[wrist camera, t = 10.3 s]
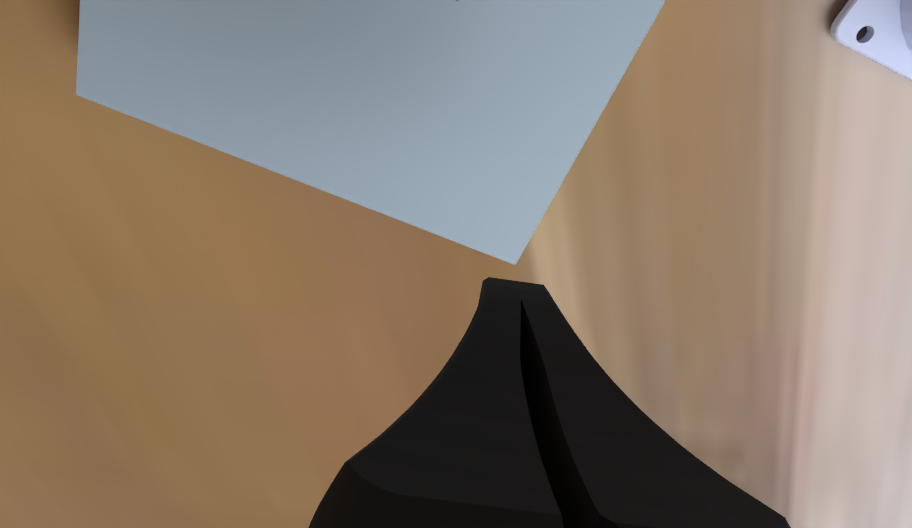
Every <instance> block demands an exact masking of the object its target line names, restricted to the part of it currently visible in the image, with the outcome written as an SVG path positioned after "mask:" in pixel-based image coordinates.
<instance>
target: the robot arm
mask: <svg viewBox="0 0 912 528" xmlns="http://www.w3.org/2000/svg"><path fill="white" fill-rule="evenodd" d="M865 26H866V27H867V32H866V34H865V36H864V37H863V38H862V39H860V40H858V41H857V40H856V35H857V33H858V31H859V30H860V29H861V28H862V27H865ZM830 33H831V37H832V38H833V39H834V40H835V41H836V42H838V43H840V44H842V45H844V46H846V47H848V48H850V49H852V50H854V51H856V52H858V53H860V54H862V55H864V56H865V57H867V58H869V59H871V60H873V61H875V62H877V63H879V64H881V65H883V66H885V67H887V68H889V69H891V70H893V71H895V72H896V73H898V74H900V75H902V76H904V77H906V78H908V79H910V80H912V0H849V1H848V2H847V3H846V5H845V6H844V7H843V9H842V10H841V11H840V13H839V14H838V16H837V17H836V18H835V20H834V22H833V23H832V25H831V30H830ZM309 528H791V527H790V526H789V524H788V522H787V521H786V519H785V517H783V516H782V515H780V514H779V513H777V512H775V511H774V510H772V509H771V508H769V507H768V506H766V505H765V504H763V503H762V502H760V501H758V500H757V499H755V498H754V497H752V496H751V495H749V494H748V493H746V492H744V491H743V490H741V489H740V488H738V487H737V486H735V485H734V484H732V483H731V482H729V481H728V480H726V479H725V478H723V477H722V476H721V475H719V474H718V473H717V472H715V471H714V470H713V469H711V468H710V467H709V466H707V465H706V464H704V463H703V462H702V461H700V460H699V459H698V458H696V457H695V456H694V455H693V454H691V453H690V452H689V451H687V450H686V449H685V448H684V447H682V446H681V445H680V444H679V443H677V442H676V441H675V440H674V439H673V438H672V437H670V436H669V435H668V434H667V433H666V432H665V431H664V430H662V429H661V428H660V427H659V426H658V425H657V424H655V423H654V422H653V421H652V420H651V419H650V418H649V417H648V416H647V415H646V414H645V413H643V412H642V411H641V410H640V409H639V408H638V407H637V406H636V405H635V404H634V403H633V402H632V401H631V400H630V399H629V398H628V397H627V395H626V394H625V393H624V392H623V391H622V390H621V389H620V388H619V387H618V386H617V385H616V384H615V383H614V382H613V381H612V380H611V378H610V377H609V376H608V375H607V374H606V373H605V371H604V370H603V369H602V368H601V367H600V365H599V364H598V363H597V362H596V360H595V359H594V358H593V357H592V355H591V354H590V353H589V352H588V350H587V349H586V347H585V346H584V345H583V343H582V342H581V340H580V339H579V338H578V336H577V335H576V334H575V332H574V331H573V329H572V328H571V326H570V325H569V323H568V322H567V320H566V319H565V317H564V316H563V314H562V313H561V311H560V310H559V308H558V306H557V305H556V303H555V302H554V300H553V298H552V297H551V295H550V294H549V292H548V291H547V289H546V288H545V286H544V285H540V284H533V283H526V282H519V281H512V280H505V279H498V278H491V277H489V278H487V279H485V280H484V281H483V283H482V288H481V294H480V299H479V304H478V307H477V310H476V312H475V314H474V317H473V319H472V321H471V323H470V325H469V327H468V329H467V331H466V333H465V335H464V336H463V338H462V340H461V341H460V343H459V345H458V346H457V348H456V350H455V351H454V353H453V354H452V356H451V357H450V359H449V360H448V362H447V363H446V365H445V366H444V367H443V369H442V370H441V371H440V373H439V374H438V375H437V377H436V378H435V379H434V381H433V382H432V383H431V384H430V385H429V386H428V388H427V389H426V390H425V391H424V392H423V393H422V395H421V396H420V397H419V398H418V399H417V400H416V401H415V402H414V403H413V405H412V406H411V407H410V408H409V409H408V410H407V411H406V412H404V413H403V414H402V415H401V416H400V417H399V418H398V419H397V420H396V421H395V422H394V423H393V424H392V425H391V426H390V427H389V428H387V429H386V430H385V431H384V432H383V433H382V434H381V435H380V436H378V437H377V438H376V439H375V440H373V441H372V442H371V443H370V444H368V445H367V446H366V447H364V448H363V449H362V450H360V451H359V452H358V453H357V454H355V455H354V456H353V457H351V458H350V459H349V460H347V461H346V462H345V463H344V465H343V466H342V468H341V469H340V471H339V473H338V474H337V476H336V477H335V479H334V480H333V482H332V484H331V485H330V487H329V489H328V490H327V492H326V494H325V495H324V497H323V499H322V501H321V502H320V504H319V506H318V508H317V510H316V512H315V514H314V516H313V519H312V521H311V523H310V525H309Z"/></svg>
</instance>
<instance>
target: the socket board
mask: <svg viewBox="0 0 912 528" xmlns="http://www.w3.org/2000/svg"><path fill="white" fill-rule="evenodd" d="M664 2H665V0H80V14H79V37H78V60H77V83H76V95H78V96H80V97H83V98H86V99H88V100H91V101H93V102H96V103H99V104H101V105H104V106H106V107H109V108H111V109H114V110H117V111H119V112H122V113H124V114H127V115H130V116H132V117H135V118H137V119H140V120H142V121H145V122H148V123H150V124H153V125H155V126H158V127H160V128H163V129H166V130H168V131H171V132H173V133H176V134H179V135H181V136H184V137H186V138H189V139H191V140H194V141H197V142H199V143H202V144H204V145H207V146H210V147H212V148H215V149H217V150H220V151H222V152H225V153H228V154H230V155H233V156H235V157H238V158H240V159H243V160H246V161H248V162H251V163H253V164H256V165H259V166H261V167H264V168H266V169H269V170H271V171H274V172H277V173H279V174H282V175H284V176H287V177H290V178H292V179H295V180H297V181H300V182H302V183H305V184H308V185H310V186H313V187H315V188H318V189H320V190H323V191H326V192H328V193H331V194H333V195H336V196H339V197H341V198H344V199H346V200H349V201H351V202H354V203H357V204H359V205H362V206H364V207H367V208H370V209H372V210H375V211H377V212H380V213H382V214H385V215H388V216H390V217H393V218H395V219H398V220H400V221H403V222H406V223H408V224H411V225H413V226H416V227H419V228H421V229H424V230H426V231H429V232H431V233H434V234H437V235H439V236H442V237H444V238H447V239H450V240H452V241H455V242H457V243H460V244H462V245H465V246H468V247H470V248H473V249H475V250H478V251H480V252H483V253H486V254H488V255H491V256H493V257H496V258H499V259H501V260H504V261H506V262H509V263H511V264H514V265H515V264H516V263H517V261H518V259H519V257H520V256H521V254H522V252H523V250H524V248H525V247H526V245H527V243H528V241H529V240H530V238H531V236H532V234H533V233H534V231H535V229H536V227H537V226H538V224H539V222H540V220H541V219H542V217H543V215H544V213H545V212H546V210H547V208H548V206H549V204H550V203H551V201H552V199H553V197H554V196H555V194H556V192H557V190H558V189H559V187H560V185H561V183H562V182H563V180H564V178H565V176H566V175H567V173H568V171H569V169H570V168H571V166H572V164H573V162H574V160H575V159H576V157H577V155H578V153H579V152H580V150H581V148H582V146H583V145H584V143H585V141H586V139H587V138H588V136H589V134H590V132H591V131H592V129H593V127H594V125H595V124H596V122H597V120H598V118H599V116H600V115H601V113H602V111H603V109H604V108H605V106H606V104H607V102H608V101H609V99H610V97H611V95H612V94H613V92H614V90H615V88H616V87H617V85H618V83H619V81H620V80H621V78H622V76H623V74H624V72H625V71H626V69H627V67H628V65H629V64H630V62H631V60H632V58H633V57H634V55H635V53H636V51H637V50H638V48H639V46H640V44H641V43H642V41H643V39H644V37H645V36H646V34H647V32H648V30H649V28H650V27H651V25H652V23H653V21H654V20H655V18H656V16H657V14H658V13H659V11H660V9H661V7H662V6H663V4H664Z"/></svg>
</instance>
